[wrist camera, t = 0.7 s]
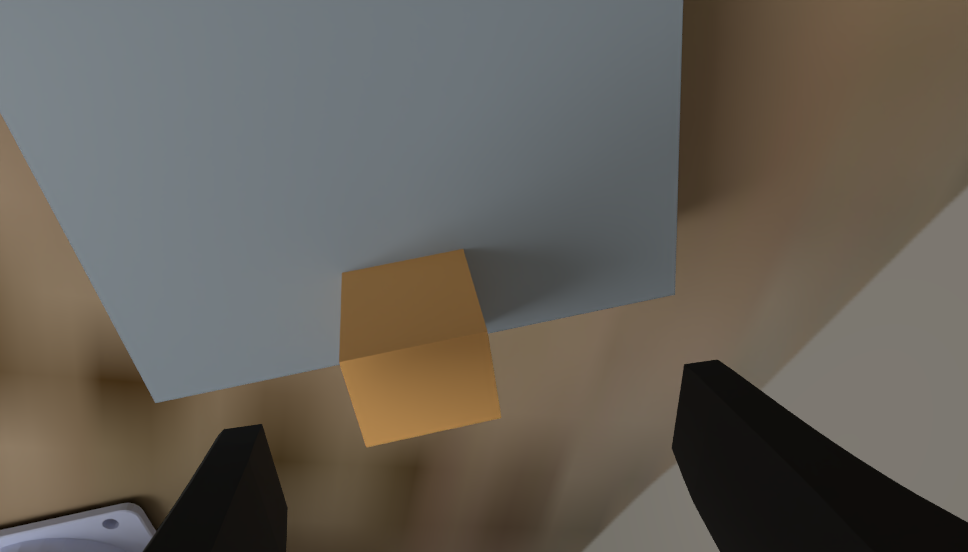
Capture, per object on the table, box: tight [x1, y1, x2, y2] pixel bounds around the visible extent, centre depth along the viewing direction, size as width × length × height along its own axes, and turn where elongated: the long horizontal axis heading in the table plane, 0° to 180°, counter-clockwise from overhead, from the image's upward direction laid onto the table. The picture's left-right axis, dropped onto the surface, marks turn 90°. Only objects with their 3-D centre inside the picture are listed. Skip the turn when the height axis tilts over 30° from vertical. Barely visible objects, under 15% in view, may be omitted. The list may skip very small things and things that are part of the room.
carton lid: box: [0, 0, 683, 447], centre depth 13 cm, size 14×12×4 cm
